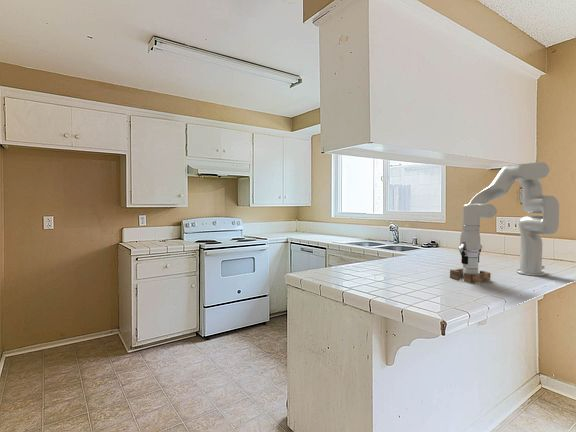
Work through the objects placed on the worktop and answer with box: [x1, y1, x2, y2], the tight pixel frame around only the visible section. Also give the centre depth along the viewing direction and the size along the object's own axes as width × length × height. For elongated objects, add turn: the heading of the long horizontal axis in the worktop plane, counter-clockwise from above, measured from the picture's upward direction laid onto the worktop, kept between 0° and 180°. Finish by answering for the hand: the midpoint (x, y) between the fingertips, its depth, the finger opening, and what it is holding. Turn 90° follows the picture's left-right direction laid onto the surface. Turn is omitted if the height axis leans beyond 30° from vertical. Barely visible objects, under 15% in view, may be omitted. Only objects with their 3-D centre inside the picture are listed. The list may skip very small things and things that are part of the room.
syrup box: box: [462, 250, 479, 276], centre depth 167 cm, size 6×6×14 cm
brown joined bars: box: [449, 267, 491, 284], centre depth 167 cm, size 14×14×4 cm
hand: (470, 262), depth 167 cm, fingers closed on syrup box, 8 cm apart
